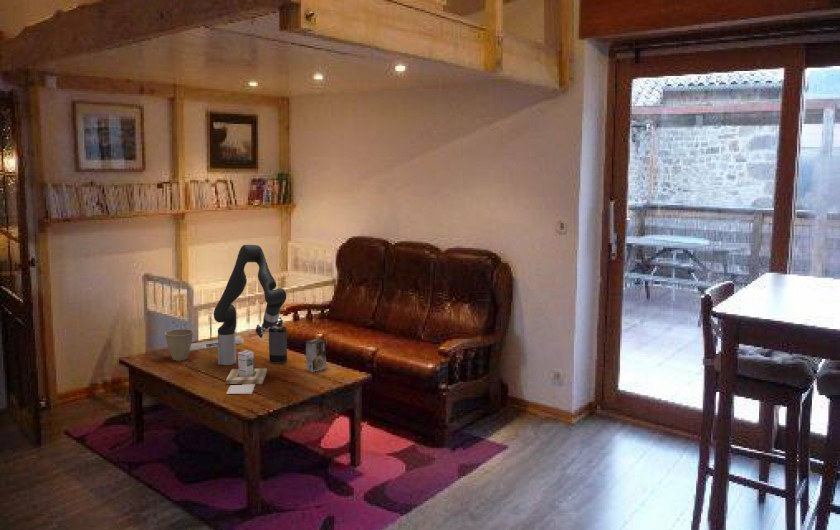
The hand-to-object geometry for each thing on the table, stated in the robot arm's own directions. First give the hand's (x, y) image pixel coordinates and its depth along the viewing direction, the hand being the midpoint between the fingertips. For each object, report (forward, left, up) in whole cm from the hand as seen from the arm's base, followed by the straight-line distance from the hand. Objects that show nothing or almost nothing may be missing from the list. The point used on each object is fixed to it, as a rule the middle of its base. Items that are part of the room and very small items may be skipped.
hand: (267, 333), depth 356 cm
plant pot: (-53, +25, -21) cm, 62 cm away
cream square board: (-10, -13, -20) cm, 26 cm away
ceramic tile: (-10, -30, -20) cm, 38 cm away
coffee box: (+25, +1, -21) cm, 33 cm away
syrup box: (-10, -12, -21) cm, 26 cm away
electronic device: (+3, +16, -21) cm, 26 cm away
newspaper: (-39, +53, -21) cm, 69 cm away
